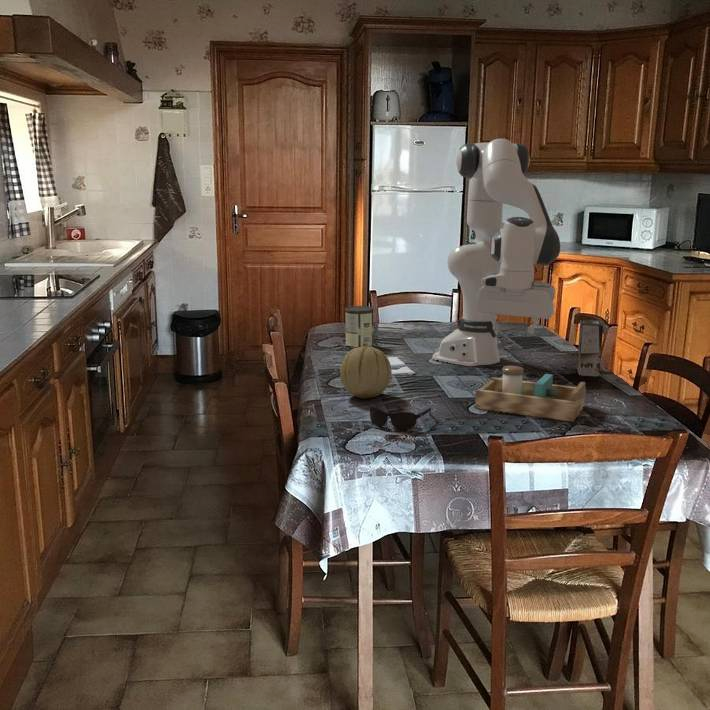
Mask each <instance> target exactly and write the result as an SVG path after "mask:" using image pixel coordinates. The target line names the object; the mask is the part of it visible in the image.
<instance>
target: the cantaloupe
mask: <svg viewBox="0 0 710 710" xmlns="http://www.w3.org/2000/svg"><path fill="white" fill-rule="evenodd" d="M363 346H365V347H358V348H354V349H350V351H348V352H347V353H346V354H345V356H344V357H343V358H342V361H341V364H340V366H339V368H340V370H339V377H340V381H341V384H342V386H343V387H344V389H345V390H346V391H347V392H349V393H350V394H351V395H352V396H354V397H356V398H360V399H364V398H366V399H370V398H375V397H378V396H379V395H381V394H383V393H384V391H386V389H387V388H388V386H389V385H390V383H391V380H392V377H393V376H392V370H391V365H390V362H389V360H388V358H387V355H386V354H385V353H384V352H383V351H382V350H380V349H379V348H376V347H369V346H368V345H367V344H365V343H363Z"/></svg>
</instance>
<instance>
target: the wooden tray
mask: <svg viewBox="0 0 710 710" xmlns="http://www.w3.org/2000/svg"><path fill="white" fill-rule="evenodd" d="M535 383H536V382H535V381H528V380H527V381H526V380H522V394H521V395H520V394H512V393H504V392H502V384H503V377H502V378H501V377H494V376H492V377H490V380H489V381H488V382H486V383H485V384H484V385H483V386H482V387H480V388H476V390H475V406H474V408H475V409H478V408H479V409H480V410H487V411H493V410H494V412H501V411H502V413H507V412H508V414H514V413H515V415H522V416H523V415H524V416H529V415H530V417H536V416H537V417H538V418H544V419H551V420H552V419H553V420H559V421H565V422H566V421H567V422H574V421H575V420H576V418H577V417H578V415H579V414H580V413H581V412H582V410H583V409H584V408H585V405H586V389H587V388H586V382H585V381H580V382H579V383H578V384H577V386H570V385H560V384H553V383H552V389H554V390H559V397H552V399H551V398H543V397H535V396H534V390H535ZM583 407H584V408H583ZM580 411H581V412H580Z"/></svg>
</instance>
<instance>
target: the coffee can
mask: <svg viewBox="0 0 710 710" xmlns="http://www.w3.org/2000/svg"><path fill="white" fill-rule="evenodd" d="M374 310H375V308H374V307H372V306H365V305H354V306H347V307H345V309H344V311H345V346H346V345H348V346H353V347H365V346H363V343H365V344H367V345H368V346H372V345H373V344H374V342H375V341H374V336H375V335H374Z"/></svg>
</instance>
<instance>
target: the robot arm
mask: <svg viewBox="0 0 710 710" xmlns="http://www.w3.org/2000/svg"><path fill="white" fill-rule="evenodd" d="M530 160H531V158H530V153H529V149H528V147H527V146H526V145H525V144H524V143H523V144H522V143H519V142H514V143H513V142H512V141H510V140H508V139H506V138H495V139H493V140H491V141H489V142H477V143H474V142H468V143H465V144H462V145H461V146H460V147H459V150H458V152H457V155H456V163H455V164H456V167H457V171H458V174H459V175H460V176H461V177H463V178H466V179H470V181H469V187H468V194H467V195H468V196H467V208H466V209H467V210H466V211H467V214H466V224H467V226H468V228H470V229H471V230H472V231H474V234H475V237H476V243H473V244H472V243H469V244H464V245H460V246H458V247H455V248H453V249H452V250H451V251H450V253H449V254H448V257H447V268H448V271H449V272H450V274H451V275H452V276H453V277H455V279H456V280H457V281H458V283H459V286H460V289H461V293H462V304H463V305H462V311H463V312H462V316H461V317H459V319H458V320H457V321H456V322H455V325H456V327H457V328H456V329H455V330H453V331H452V332H451V333H449V334H448V335H446V336H445V337H444V338H443V339H442V340H441V341H440V345H439V349H438V351H436V352H434V353H433V355H432V357H431V359H432V358H433V359H434V360H433V359H432V360H433V361H436V360H439V361H438V362H442V361H443V362H444V363H447V362H448V364H455V365H461V366H466V367H476V366H477V367H478V366H490V365H494V364H495V365H496V364H497V363H500V362H501V359H500V355H499V351H498V350H499V349H498V341H497V338H498V337H497V336H498V333H499V332H498V331H499V330H500V328H501V323H500V322H499V319H498V317H497V315H503V316H505V315H506V316H514V317H524V318H531V319H532V320H531V321H532V322H533V324H532V325H529V326H528V327H527V328H526V329H527V332H526V334H528V335H534V334H535V329H536V327H537V325H538V324H539V322H540V319H542V320H543V319H544V320H548V319H551V318H552V317H553V315H554V312H555V307H554V305H555V304H554V300H555V297H556V288H555V287H554V285H552V284H551V283H550V282H539V281H534V280H535V279H534V276H535V266H534V265H538V266H539V265H540V266H549V265H550V264H553V262H554V261H555V260H557V258H559V255H560V251H561V241H560V237H559V234H558V232H557V231H556V229H555V228H554V226H553V224H552V221H551V219H550V217H549V213H548V211H547V208H546V206H545V203H544V201H543V197H542V196H541V193H540V192H539V189H538V187H537V185H535V184H533V183H532V182H531V181H530V180H528V179H527V178H526V176H525V175H526V173H527V172H528V169H529V166H530ZM503 204H504V205H508V206H511V207H515V208H518V209H520V210H522V211H524V212H525V213H526V214H527V215H528V216H529V218H528V217H523V216H512V217H509V218H508V217H507V219H506V220H505V221H504V223H503ZM503 224H504V225H503Z"/></svg>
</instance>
